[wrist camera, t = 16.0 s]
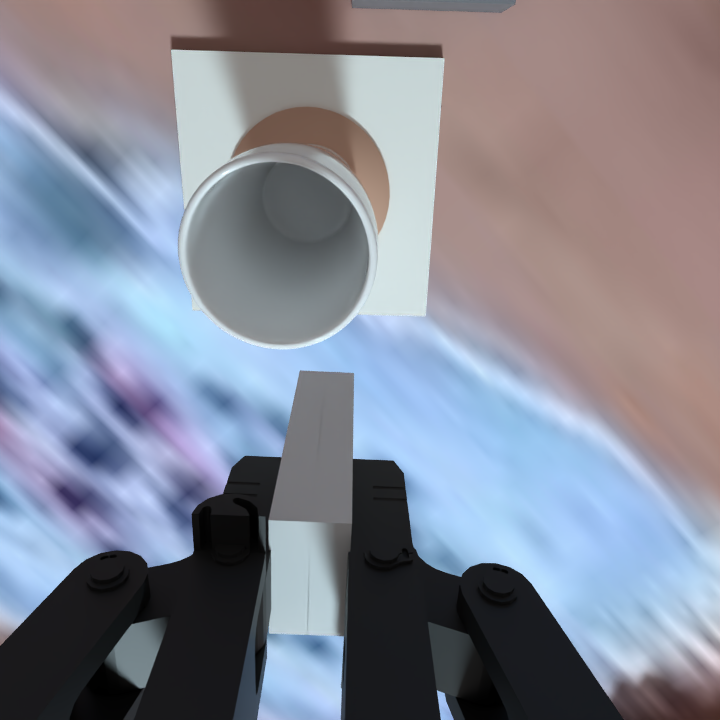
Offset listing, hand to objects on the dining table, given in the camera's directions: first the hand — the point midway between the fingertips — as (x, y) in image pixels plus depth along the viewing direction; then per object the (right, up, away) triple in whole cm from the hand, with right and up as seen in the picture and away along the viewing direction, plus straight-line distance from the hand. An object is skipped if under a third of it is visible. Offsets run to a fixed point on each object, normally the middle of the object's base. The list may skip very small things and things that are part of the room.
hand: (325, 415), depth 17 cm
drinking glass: (-2, +11, +17) cm, 20 cm away
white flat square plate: (-2, +11, +17) cm, 21 cm away
